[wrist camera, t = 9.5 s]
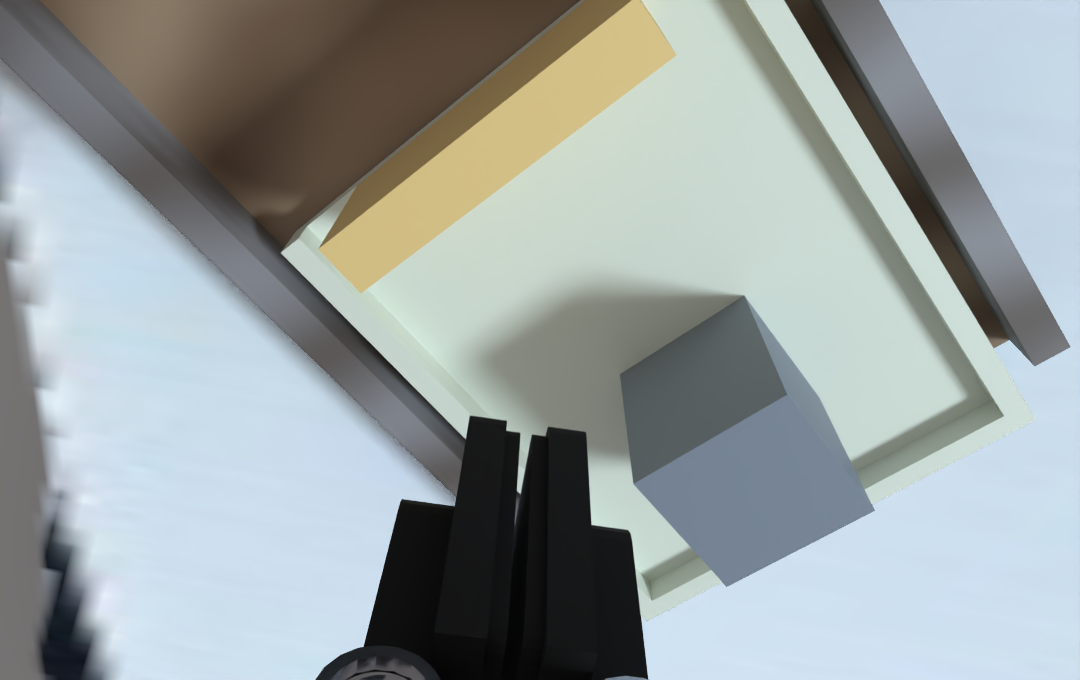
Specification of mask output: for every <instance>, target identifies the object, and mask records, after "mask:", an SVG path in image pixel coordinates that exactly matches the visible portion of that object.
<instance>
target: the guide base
mask: <svg viewBox="0 0 1080 680" xmlns="http://www.w3.org/2000/svg"><path fill="white" fill-rule="evenodd" d="M579 1H580V0H0V58H1V59H2V60H3V61H4V62H5V63H6V64H7V65H8V66H9V67H10V68H11V69H12V70H13V71H14V72H15V73H16V74H17V75H18V76H19V77H20V78H21V79H22V80H23V81H25V82H26V83H27V84H28V85H29V86H30V87H31V88H32V89H33V90H34V91H35V92H36V93H37V94H38V95H39V96H40V97H41V98H42V99H43V100H44V101H45V102H46V103H47V104H48V105H49V106H51V107H52V108H53V109H54V110H55V111H56V112H57V113H58V114H59V115H60V116H61V117H62V118H63V119H64V120H65V121H66V122H67V123H68V124H69V125H70V126H71V127H72V128H73V129H74V130H75V131H76V132H78V133H79V134H80V135H81V136H82V137H83V138H84V139H85V140H86V141H87V142H88V143H89V144H90V145H91V146H92V147H93V148H94V149H95V150H96V151H97V152H98V153H99V154H100V155H101V156H102V157H104V158H105V159H106V160H107V161H108V162H109V163H110V164H111V165H112V166H113V167H114V168H115V169H116V170H117V171H118V172H119V173H120V174H121V175H122V176H123V177H124V178H125V179H126V180H127V181H128V182H129V183H131V184H132V185H133V186H134V187H135V188H136V189H137V190H138V191H139V192H140V193H141V194H142V195H143V196H144V197H145V198H146V199H147V200H148V201H149V202H150V203H151V204H152V205H153V206H154V207H155V208H156V209H158V210H159V211H160V212H161V213H162V214H163V215H164V216H165V217H166V218H167V219H168V220H169V221H170V222H171V223H172V224H173V225H174V226H175V227H176V228H177V229H178V230H179V231H180V232H181V233H182V234H184V235H185V236H186V237H187V238H188V239H189V240H190V241H191V242H192V243H193V244H194V245H195V246H196V247H197V248H198V249H199V250H200V251H201V252H202V253H203V254H204V255H205V256H206V257H207V258H208V259H209V260H211V261H212V262H213V263H214V264H215V265H216V266H217V267H218V268H219V269H220V270H221V271H222V272H223V273H224V274H225V275H226V276H227V277H228V278H229V279H230V280H231V281H232V282H233V283H234V284H235V285H237V286H238V287H239V288H240V289H241V290H242V291H243V292H244V293H245V294H246V295H247V296H248V297H249V298H250V299H251V300H252V301H253V302H254V303H255V304H256V305H257V306H258V307H259V308H260V309H261V310H262V311H264V312H265V313H266V314H267V315H268V316H269V317H270V318H271V319H272V320H273V321H274V322H275V323H276V324H277V325H278V326H279V327H280V328H281V329H282V330H283V331H284V332H285V333H286V334H287V335H288V336H290V337H291V338H292V339H293V340H294V341H295V342H296V343H297V344H298V345H299V346H300V347H301V348H302V349H303V350H304V351H305V352H306V353H307V354H308V355H309V356H310V357H311V358H312V359H313V360H314V361H315V362H317V363H318V364H319V365H320V366H321V367H322V368H323V369H324V370H325V371H326V372H327V373H328V374H329V375H330V376H331V377H332V378H333V379H334V380H335V381H336V382H337V383H338V384H339V385H340V386H341V387H342V388H344V389H345V390H346V391H347V392H348V393H349V394H350V395H351V396H352V397H353V398H354V399H355V400H356V401H357V402H358V403H359V404H360V405H361V406H362V407H363V408H364V409H365V410H366V411H367V412H368V413H370V414H371V415H372V416H373V417H374V418H375V419H376V420H377V421H378V422H379V423H380V424H381V425H382V426H383V427H384V428H385V429H386V430H387V431H388V432H389V433H390V434H391V435H392V436H393V437H394V438H395V439H397V440H398V441H399V442H400V443H401V444H402V445H403V446H404V447H405V448H406V449H407V450H408V451H409V452H410V453H411V454H412V455H413V456H414V457H415V458H416V459H417V460H418V461H419V462H420V463H421V464H423V465H424V466H425V467H426V468H427V469H428V470H429V471H430V472H431V473H432V474H433V475H434V476H435V477H436V478H437V479H438V480H439V481H440V482H441V483H442V484H443V485H444V486H445V487H446V488H447V489H448V490H450V491H451V492H452V493H453V494H454V495H455V496H457V490H458V484H459V478H460V472H461V466H462V459H463V453H464V447H465V441H466V439H465V438H464V437H463V436H462V435H461V434H460V433H459V432H458V431H457V430H456V429H455V428H454V427H453V426H452V425H451V424H450V423H449V422H448V421H447V420H446V419H445V418H444V417H443V416H442V415H441V414H440V413H439V412H438V411H437V410H436V409H435V408H434V407H433V406H432V405H431V404H430V403H429V402H428V401H427V400H426V399H425V398H424V397H423V396H422V395H421V394H420V393H419V392H418V391H417V390H416V389H415V388H414V387H413V386H412V385H411V384H410V383H409V382H408V381H407V380H406V379H405V378H404V377H403V376H402V375H401V374H400V373H399V371H398V370H397V369H396V368H395V367H394V366H393V365H392V364H391V363H390V362H389V361H388V360H387V359H386V358H385V357H384V356H383V355H382V354H381V353H380V352H379V351H378V350H377V349H376V348H375V347H374V346H373V345H372V344H371V343H370V342H369V341H368V340H367V339H366V338H365V337H364V336H363V335H362V334H361V333H360V332H359V331H358V330H357V329H356V328H355V327H354V326H353V325H352V324H351V323H350V322H349V321H348V320H347V319H346V318H345V317H344V316H343V315H342V314H341V313H340V312H339V311H338V310H337V309H336V308H335V307H334V306H333V305H332V304H331V303H330V302H329V301H328V300H327V299H326V298H325V297H324V296H323V295H322V294H321V293H320V292H319V291H318V290H317V289H316V288H315V287H314V286H313V285H312V284H311V283H310V282H309V281H308V280H307V279H306V278H305V277H304V276H303V275H302V274H301V273H300V272H299V271H298V270H297V269H296V268H295V267H294V266H293V265H292V264H291V263H290V262H289V261H288V260H287V259H286V258H285V257H284V256H283V255H282V254H281V252H282V250H283V249H284V247H285V246H286V245H287V243H288V242H289V240H290V239H291V238H292V236H293V235H294V233H295V232H296V231H297V230H298V229H299V228H300V227H302V226H303V225H304V224H305V223H307V222H308V221H309V220H310V219H312V218H313V217H314V216H315V215H316V214H318V213H319V212H320V211H321V210H323V209H324V208H325V207H326V206H328V205H329V204H330V203H331V202H332V201H334V200H335V199H336V198H337V197H339V196H340V195H341V194H342V193H344V192H345V191H346V190H347V189H348V188H350V187H351V186H352V185H353V184H355V183H356V182H357V181H358V180H360V179H361V178H362V177H363V176H364V175H366V174H367V173H368V172H369V171H371V170H372V169H373V168H374V167H376V166H377V165H378V164H379V163H380V162H382V161H383V160H384V159H385V158H387V157H388V156H389V155H390V154H392V153H393V152H394V151H395V150H396V149H398V148H399V147H400V146H401V145H403V144H404V143H405V142H406V141H408V140H409V139H410V138H411V137H413V136H414V135H415V134H416V133H417V132H419V131H420V130H421V129H422V128H424V127H425V126H426V125H427V124H429V123H430V122H431V121H432V120H433V119H435V118H436V117H437V116H438V115H440V114H441V113H442V112H443V111H445V110H446V109H447V108H448V107H449V106H451V105H452V104H453V103H454V102H456V101H457V100H458V99H459V98H461V97H462V96H463V95H464V94H465V93H467V92H468V91H469V90H470V89H472V88H473V87H474V86H475V85H477V84H478V83H479V82H480V81H481V80H483V79H484V78H485V77H486V76H488V75H489V74H490V73H491V72H493V71H494V70H495V69H496V68H497V67H499V66H500V65H501V64H502V63H504V62H505V61H506V60H507V59H509V58H510V57H511V56H512V55H514V54H515V53H516V52H517V51H518V50H520V49H521V48H522V47H523V46H525V45H526V44H527V43H528V42H530V41H531V40H532V39H533V38H534V37H536V36H537V35H538V34H539V33H541V32H542V31H543V30H544V29H546V28H547V27H548V26H549V25H550V24H552V23H553V22H554V21H555V20H557V19H558V18H559V17H560V16H562V15H563V14H564V13H565V12H566V11H568V10H569V9H570V8H571V7H573V6H574V5H575V4H576V3H578V2H579ZM784 1H785V3H786V4H787V6H788V8H789V9H790V11H791V13H792V14H793V16H794V18H795V19H796V21H797V23H798V24H799V26H800V28H801V29H802V31H803V33H804V34H805V36H806V38H807V39H808V41H809V43H810V44H811V46H812V48H813V49H814V51H815V53H816V54H817V56H818V58H819V59H820V61H821V63H822V64H823V66H824V68H825V69H826V71H827V72H828V74H829V76H830V77H831V79H832V81H833V82H834V84H835V86H836V87H837V89H838V91H839V92H840V94H841V96H842V97H843V99H844V101H845V102H846V104H847V106H848V107H849V109H850V111H851V112H852V114H853V116H854V117H855V119H856V121H857V122H858V124H859V126H860V127H861V129H862V131H863V132H864V134H865V136H866V137H867V139H868V141H869V142H870V144H871V146H872V147H873V149H874V151H875V152H876V154H877V156H878V157H879V159H880V161H881V162H882V164H883V166H884V167H885V169H886V171H887V172H888V174H889V176H890V177H891V179H892V181H893V182H894V184H895V185H896V187H897V189H898V190H899V192H900V194H901V195H902V197H903V199H904V200H905V202H906V204H907V205H908V207H909V209H910V210H911V212H912V214H913V215H914V217H915V219H916V220H917V222H918V224H919V225H920V227H921V229H922V230H923V232H924V234H925V235H926V237H927V239H928V240H929V242H930V244H931V245H932V247H933V249H934V250H935V252H936V254H937V255H938V257H939V259H940V260H941V262H942V264H943V265H944V267H945V269H946V270H947V272H948V274H949V275H950V277H951V279H952V280H953V282H954V284H955V285H956V287H957V289H958V290H959V292H960V293H961V295H962V297H963V298H964V300H965V302H966V303H967V305H968V307H969V308H970V310H971V312H972V313H973V315H974V317H975V318H976V320H977V322H978V323H979V325H980V327H981V328H982V330H983V332H984V333H985V335H986V337H987V338H988V340H989V342H990V343H991V345H992V347H993V348H995V347H997V346H999V345H1001V344H1003V343H1004V342H1006V341H1008V340H1010V341H1011V342H1012V343H1013V344H1014V345H1015V346H1016V347H1017V348H1018V349H1019V350H1020V351H1021V352H1022V353H1023V354H1024V355H1025V357H1026V358H1027V359H1028V360H1029V361H1030V362H1031V363H1032V364H1033V365H1034V366H1036V365H1038V364H1040V363H1042V362H1044V361H1045V360H1047V359H1049V358H1051V357H1053V356H1055V355H1057V354H1058V353H1060V352H1062V351H1064V350H1066V349H1068V348H1070V345H1069V343H1068V342H1067V340H1066V338H1065V336H1064V334H1063V333H1062V331H1061V329H1060V327H1059V325H1058V324H1057V322H1056V320H1055V318H1054V316H1053V315H1052V313H1051V311H1050V309H1049V307H1048V305H1047V304H1046V302H1045V300H1044V298H1043V296H1042V295H1041V293H1040V291H1039V289H1038V287H1037V286H1036V284H1035V282H1034V280H1033V278H1032V277H1031V275H1030V273H1029V271H1028V269H1027V267H1026V266H1025V264H1024V262H1023V260H1022V258H1021V257H1020V255H1019V253H1018V251H1017V249H1016V248H1015V246H1014V244H1013V242H1012V240H1011V239H1010V237H1009V235H1008V233H1007V231H1006V229H1005V228H1004V226H1003V224H1002V222H1001V220H1000V219H999V217H998V215H997V213H996V211H995V210H994V208H993V206H992V204H991V202H990V201H989V199H988V197H987V195H986V193H985V191H984V190H983V188H982V186H981V184H980V182H979V181H978V179H977V177H976V175H975V173H974V172H973V170H972V168H971V166H970V164H969V163H968V161H967V159H966V157H965V155H964V153H963V152H962V150H961V148H960V146H959V144H958V143H957V141H956V139H955V137H954V135H953V134H952V132H951V130H950V128H949V126H948V125H947V123H946V121H945V119H944V117H943V115H942V114H941V112H940V110H939V108H938V106H937V105H936V103H935V101H934V99H933V97H932V96H931V94H930V92H929V90H928V88H927V87H926V85H925V83H924V81H923V79H922V77H921V76H920V74H919V72H918V70H917V68H916V67H915V65H914V63H913V61H912V59H911V58H910V56H909V54H908V52H907V50H906V49H905V47H904V45H903V43H902V41H901V39H900V38H899V36H898V34H897V32H896V30H895V29H894V27H893V25H892V23H891V21H890V20H889V18H888V16H887V14H886V12H885V11H884V9H883V7H882V5H881V3H880V2H879V0H784ZM519 500H520V493H519V492H518V491H517V496H516V512H515V521H516V516H517V511H518V505H519Z"/></svg>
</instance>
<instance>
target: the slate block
mask: <svg viewBox="0 0 1080 680" xmlns="http://www.w3.org/2000/svg"><path fill="white" fill-rule="evenodd" d="M620 380H621V388H622V396H623V405H624V413H625V421H626V429H627V437H628V445H629V453H630V461H631V469H632V477H633V484H634V485H635V486H636V488H637V489H638V490H639V491H640V492H641V493H642V494H643V495H644V496H645V497H646V499H647V500H648V501H649V502H650V503H651V504H652V505H653V506H654V507H655V508H656V510H657V511H658V512H659V513H660V514H661V515H662V516H663V517H664V518H665V519H666V521H667V522H668V523H669V524H670V525H671V526H672V527H673V528H674V529H675V531H676V532H677V533H678V534H679V535H680V536H681V537H682V538H683V539H684V540H685V542H686V543H687V544H688V545H689V546H690V547H691V548H692V549H693V550H694V551H695V553H696V554H697V555H698V556H699V557H700V558H701V559H702V560H703V561H704V562H705V564H706V565H707V566H708V567H709V568H710V569H711V570H712V571H713V572H714V573H715V575H716V576H717V577H718V578H719V579H720V580H721V581H722V582H723V583H724V585H725V586H726V587H727V586H729V585H731V584H733V583H735V582H737V581H739V580H741V579H743V578H745V577H747V576H749V575H751V574H753V573H754V572H756V571H758V570H760V569H762V568H764V567H766V566H768V565H770V564H772V563H774V562H776V561H778V560H780V559H782V558H784V557H786V556H788V555H789V554H791V553H793V552H795V551H797V550H799V549H801V548H803V547H805V546H807V545H809V544H811V543H813V542H815V541H817V540H819V539H821V538H823V537H824V536H826V535H828V534H830V533H832V532H834V531H836V530H838V529H840V528H842V527H844V526H846V525H848V524H850V523H852V522H854V521H856V520H858V519H859V518H861V517H863V516H865V515H867V514H869V513H871V512H873V511H875V510H874V508H873V506H872V504H871V502H870V500H869V498H868V496H867V494H866V492H865V490H864V488H863V486H862V484H861V481H860V479H859V477H858V475H857V473H856V471H855V469H854V467H853V465H852V463H851V461H850V459H849V457H848V455H847V453H846V451H845V449H844V447H843V445H842V443H841V441H840V439H839V437H838V435H837V433H836V430H835V428H834V426H833V424H832V422H831V420H830V418H829V416H828V414H827V412H826V410H825V408H824V406H823V404H822V402H821V400H820V398H819V396H818V395H817V394H816V392H815V391H814V390H813V388H812V387H811V385H810V384H809V383H808V381H807V380H806V379H805V377H804V376H803V375H802V373H801V372H800V370H799V369H798V368H797V366H796V365H795V364H794V362H793V361H792V360H791V358H790V357H789V356H788V354H787V353H786V351H785V350H784V349H783V347H782V346H781V345H780V343H779V342H778V341H777V339H776V338H775V336H774V335H773V334H772V332H771V331H770V330H769V328H768V327H767V326H766V324H765V323H764V321H763V320H762V319H761V317H760V316H759V315H758V313H757V312H756V311H755V309H754V308H753V307H752V305H751V304H750V302H749V301H748V300H747V298H746V297H745V296H743V297H741V298H740V299H738V300H736V301H735V302H733V303H732V304H730V305H729V306H727V307H725V308H724V309H722V310H721V311H719V312H718V313H716V314H714V315H713V316H711V317H710V318H708V319H706V320H705V321H703V322H702V323H700V324H699V325H697V326H695V327H694V328H692V329H691V330H689V331H687V332H686V333H684V334H683V335H681V336H680V337H678V338H676V339H675V340H673V341H672V342H670V343H668V344H667V345H665V346H664V347H662V348H661V349H659V350H657V351H656V352H654V353H653V354H651V355H650V356H648V357H646V358H645V359H643V360H642V361H640V362H638V363H637V364H635V365H634V366H632V367H631V368H629V369H627V370H626V371H624V372H623V373H621V374H620Z"/></svg>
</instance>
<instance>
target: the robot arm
mask: <svg viewBox="0 0 1080 680" xmlns="http://www.w3.org/2000/svg"><path fill="white" fill-rule="evenodd" d="M506 428H507V421H506V420H499V419H492V418H485V417H478V416H471V415H470V417H469V423H468V429H467V435H466V441H465V447H464V453H463V459H462V466H461V472H460V478H459V484H458V490H457V496H456V503H455V506H448V505H440V504H433V503H426V502H418V501H411V500H403V499H402V500H401V502H400V505H399V509H398V513H397V517H396V521H395V525H394V529H393V533H392V536H391V540H390V544H389V548H388V552H387V556H386V560H385V564H384V568H383V572H382V576H381V580H380V584H379V588H378V592H377V596H376V600H375V604H374V608H373V612H372V616H371V620H370V624H369V628H368V632H367V636H366V640H365V644H364V647H360V648H357V649H354V650H352V651H349V652H347V653H344V654H342V655H340V656H339V657H337V658H336V659H335V660H333V661H332V662H331V663H329V664H328V665H327V666H325V667H324V669H323V670H322V671H321V673H320V674H319V675H318V677H317V678H316V680H648V674H647V665H646V657H645V648H644V639H643V631H642V622H641V614H640V605H639V596H638V588H637V579H636V570H635V562H634V553H633V544H632V538H631V533H630V532H629V530H625V529H618V528H610V527H603V526H595V525H591V506H590V488H589V470H588V452H587V436H586V432H584V431H577V430H570V429H563V428H556V427H549V426H548V428H547V431H546V436H540V435H533V434H532V437H531V441H530V446H529V451H528V457H527V462H526V467H525V473H524V478H523V484H522V489H521V494H520V500H519V505H518V511H517V516H516V521H515V512H516V496H517V481H518V465H519V450H520V433H519V432H512V431H506Z"/></svg>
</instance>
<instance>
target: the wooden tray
mask: <svg viewBox="0 0 1080 680" xmlns="http://www.w3.org/2000/svg"><path fill="white" fill-rule="evenodd" d="M281 254H282V255H283V256H284V257H285V258H286V259H287V260H288V261H289V262H290V263H291V264H292V265H293V266H294V267H295V268H296V269H297V270H298V271H299V272H300V273H301V274H302V275H303V276H304V277H305V278H306V279H307V280H308V281H309V282H310V283H311V284H312V285H313V286H314V287H315V288H316V289H317V290H318V291H319V292H320V293H321V294H322V295H323V296H324V297H325V298H326V299H327V300H328V301H329V302H330V303H331V304H332V305H333V306H334V307H335V308H336V309H337V310H338V311H339V312H340V313H341V314H342V315H343V316H344V317H345V318H346V319H347V320H348V321H349V322H350V323H351V324H352V325H353V326H354V327H355V328H356V329H357V330H358V331H359V332H360V333H361V334H362V335H363V336H364V337H365V338H366V339H367V340H368V341H369V342H370V343H371V344H372V345H373V346H374V347H375V348H376V349H377V350H378V351H379V352H380V353H381V354H382V355H383V356H384V357H385V358H386V359H387V360H388V361H389V362H390V363H391V364H392V365H393V366H394V367H395V368H396V369H397V370H398V371H399V373H400V374H401V375H402V376H403V377H404V378H405V379H406V380H407V381H408V382H409V383H410V384H411V385H412V386H413V387H414V388H415V389H416V390H417V391H418V392H419V393H420V394H421V395H422V396H423V397H424V398H425V399H426V400H427V401H428V402H429V403H430V404H431V405H432V406H433V407H434V408H435V409H436V410H437V411H438V412H439V413H440V414H441V415H442V416H443V417H444V418H445V419H446V420H447V421H448V422H449V423H450V424H451V425H452V426H453V427H454V428H455V429H456V430H457V431H458V432H459V433H460V434H461V435H462V436H463V437H464V438H465V439H466V435H467V429H468V423H469V417H470V415H471V416H478V417H485V418H492V419H499V420H506V421H507V428H506V431H512V432H519V433H520V450H519V465H518V481H517V491H518V492H519V493H520V494H521V489H522V484H523V478H524V473H525V467H526V462H527V457H528V451H529V446H530V441H531V437H532V434H533V435H540V436H546V431H547V428H548V426H549V427H556V428H563V429H570V430H577V431H584V432H586V436H587V452H588V470H589V488H590V506H591V525H595V526H603V527H610V528H618V529H625V530H629V532H630V533H631V538H632V544H633V553H634V562H635V570H636V579H637V588H638V596H639V605H640V614H641V616H642V617H643V618H644V619H645V620H646V621H648V620H650V619H652V618H654V617H656V616H658V615H660V614H662V613H664V612H666V611H668V610H670V609H672V608H674V607H675V606H677V605H679V604H681V603H683V602H685V601H687V600H689V599H691V598H693V597H695V596H697V595H699V594H701V593H703V592H704V591H706V590H708V589H710V588H712V587H714V586H716V585H718V584H720V583H722V581H721V580H720V579H719V578H718V577H717V576H716V575H715V573H714V572H713V571H712V570H711V569H710V568H709V567H708V566H707V565H706V564H705V562H704V561H703V560H702V559H701V558H700V557H699V556H698V555H697V554H696V553H695V551H694V550H693V549H692V548H691V547H690V546H689V545H688V544H687V543H686V542H685V540H684V539H683V538H682V537H681V536H680V535H679V534H678V533H677V532H676V531H675V529H674V528H673V527H672V526H671V525H670V524H669V523H668V522H667V521H666V519H665V518H664V517H663V516H662V515H661V514H660V513H659V512H658V511H657V510H656V508H655V507H654V506H653V505H652V504H651V503H650V502H649V501H648V500H647V499H646V497H645V496H644V495H643V494H642V493H641V492H640V491H639V490H638V489H637V488H636V486H635V485H634V484H633V477H632V469H631V461H630V453H629V445H628V437H627V429H626V421H625V413H624V405H623V396H622V388H621V380H620V374H621V373H623V372H624V371H626V370H627V369H629V368H631V367H632V366H634V365H635V364H637V363H638V362H640V361H642V360H643V359H645V358H646V357H648V356H650V355H651V354H653V353H654V352H656V351H657V350H659V349H661V348H662V347H664V346H665V345H667V344H668V343H670V342H672V341H673V340H675V339H676V338H678V337H680V336H681V335H683V334H684V333H686V332H687V331H689V330H691V329H692V328H694V327H695V326H697V325H699V324H700V323H702V322H703V321H705V320H706V319H708V318H710V317H711V316H713V315H714V314H716V313H718V312H719V311H721V310H722V309H724V308H725V307H727V306H729V305H730V304H732V303H733V302H735V301H736V300H738V299H740V298H741V297H743V296H745V297H746V298H747V300H748V301H749V302H750V304H751V305H752V307H753V308H754V309H755V311H756V312H757V313H758V315H759V316H760V317H761V319H762V320H763V321H764V323H765V324H766V326H767V327H768V328H769V330H770V331H771V332H772V334H773V335H774V336H775V338H776V339H777V341H778V342H779V343H780V345H781V346H782V347H783V349H784V350H785V351H786V353H787V354H788V356H789V357H790V358H791V360H792V361H793V362H794V364H795V365H796V366H797V368H798V369H799V370H800V372H801V373H802V375H803V376H804V377H805V379H806V380H807V381H808V383H809V384H810V385H811V387H812V388H813V390H814V391H815V392H816V394H817V395H818V396H819V398H820V400H821V402H822V404H823V406H824V408H825V410H826V412H827V414H828V416H829V418H830V420H831V422H832V424H833V426H834V428H835V430H836V433H837V435H838V437H839V439H840V441H841V443H842V445H843V447H844V449H845V451H846V453H847V455H848V457H849V459H850V461H851V463H852V465H853V467H854V469H855V471H856V473H857V475H858V477H859V479H860V481H861V484H862V486H863V488H864V490H865V492H866V494H867V496H868V498H869V500H870V502H871V504H872V505H873V504H875V503H877V502H878V501H880V500H882V499H884V498H886V497H888V496H890V495H892V494H894V493H896V492H898V491H900V490H902V489H904V488H906V487H907V486H909V485H911V484H913V483H915V482H917V481H919V480H921V479H923V478H925V477H927V476H929V475H931V474H933V473H935V472H936V471H938V470H940V469H942V468H944V467H946V466H948V465H950V464H952V463H954V462H956V461H958V460H960V459H962V458H964V457H965V456H967V455H969V454H971V453H973V452H975V451H977V450H979V449H981V448H983V447H985V446H987V445H989V444H991V443H993V442H994V441H996V440H998V439H1000V438H1002V437H1004V436H1006V435H1008V434H1010V433H1012V432H1014V431H1016V430H1018V429H1020V428H1022V427H1023V426H1025V425H1027V424H1029V423H1031V422H1033V421H1035V420H1036V418H1035V416H1034V415H1033V413H1032V411H1031V410H1030V408H1029V406H1028V405H1027V403H1026V402H1025V400H1024V398H1023V397H1022V395H1021V393H1020V392H1019V390H1018V388H1017V387H1016V385H1015V383H1014V382H1013V380H1012V378H1011V377H1010V375H1009V373H1008V372H1007V370H1006V368H1005V367H1004V365H1003V363H1002V362H1001V360H1000V358H999V357H998V355H997V353H996V352H995V350H994V348H993V347H992V345H991V343H990V342H989V340H988V338H987V337H986V335H985V333H984V332H983V330H982V328H981V327H980V325H979V323H978V322H977V320H976V318H975V317H974V315H973V313H972V312H971V310H970V308H969V307H968V305H967V303H966V302H965V300H964V298H963V297H962V295H961V293H960V292H959V290H958V289H957V287H956V285H955V284H954V282H953V280H952V279H951V277H950V275H949V274H948V272H947V270H946V269H945V267H944V265H943V264H942V262H941V260H940V259H939V257H938V255H937V254H936V252H935V250H934V249H933V247H932V245H931V244H930V242H929V240H928V239H927V237H926V235H925V234H924V232H923V230H922V229H921V227H920V225H919V224H918V222H917V220H916V219H915V217H914V215H913V214H912V212H911V210H910V209H909V207H908V205H907V204H906V202H905V200H904V199H903V197H902V195H901V194H900V192H899V190H898V189H897V187H896V185H895V184H894V182H893V181H892V179H891V177H890V176H889V174H888V172H887V171H886V169H885V167H884V166H883V164H882V162H881V161H880V159H879V157H878V156H877V154H876V152H875V151H874V149H873V147H872V146H871V144H870V142H869V141H868V139H867V137H866V136H865V134H864V132H863V131H862V129H861V127H860V126H859V124H858V122H857V121H856V119H855V117H854V116H853V114H852V112H851V111H850V109H849V107H848V106H847V104H846V102H845V101H844V99H843V97H842V96H841V94H840V92H839V91H838V89H837V87H836V86H835V84H834V82H833V81H832V79H831V77H830V76H829V74H828V72H827V71H826V69H825V68H824V66H823V64H822V63H821V61H820V59H819V58H818V56H817V54H816V53H815V51H814V49H813V48H812V46H811V44H810V43H809V41H808V39H807V38H806V36H805V34H804V33H803V31H802V29H801V28H800V26H799V24H798V23H797V21H796V19H795V18H794V16H793V14H792V13H791V11H790V9H789V8H788V6H787V4H786V3H785V1H784V0H580V1H579V2H578V3H576V4H575V5H574V6H573V7H571V8H570V9H569V10H568V11H566V12H565V13H564V14H563V15H562V16H560V17H559V18H558V19H557V20H555V21H554V22H553V23H552V24H550V25H549V26H548V27H547V28H546V29H544V30H543V31H542V32H541V33H539V34H538V35H537V36H536V37H534V38H533V39H532V40H531V41H530V42H528V43H527V44H526V45H525V46H523V47H522V48H521V49H520V50H518V51H517V52H516V53H515V54H514V55H512V56H511V57H510V58H509V59H507V60H506V61H505V62H504V63H502V64H501V65H500V66H499V67H497V68H496V69H495V70H494V71H493V72H491V73H490V74H489V75H488V76H486V77H485V78H484V79H483V80H481V81H480V82H479V83H478V84H477V85H475V86H474V87H473V88H472V89H470V90H469V91H468V92H467V93H465V94H464V95H463V96H462V97H461V98H459V99H458V100H457V101H456V102H454V103H453V104H452V105H451V106H449V107H448V108H447V109H446V110H445V111H443V112H442V113H441V114H440V115H438V116H437V117H436V118H435V119H433V120H432V121H431V122H430V123H429V124H427V125H426V126H425V127H424V128H422V129H421V130H420V131H419V132H417V133H416V134H415V135H414V136H413V137H411V138H410V139H409V140H408V141H406V142H405V143H404V144H403V145H401V146H400V147H399V148H398V149H396V150H395V151H394V152H393V153H392V154H390V155H389V156H388V157H387V158H385V159H384V160H383V161H382V162H380V163H379V164H378V165H377V166H376V167H374V168H373V169H372V170H371V171H369V172H368V173H367V174H366V175H364V176H363V177H362V178H361V179H360V180H358V181H357V182H356V183H355V184H353V185H352V186H351V187H350V188H348V189H347V190H346V191H345V192H344V193H342V194H341V195H340V196H339V197H337V198H336V199H335V200H334V201H332V202H331V203H330V204H329V205H328V206H326V207H325V208H324V209H323V210H321V211H320V212H319V213H318V214H316V215H315V216H314V217H313V218H312V219H310V220H309V221H308V222H307V223H305V224H304V225H303V226H302V227H300V228H299V229H298V230H297V231H296V232H295V233H294V235H293V236H292V238H291V239H290V240H289V242H288V243H287V245H286V246H285V247H284V249H283V250H282V252H281Z"/></svg>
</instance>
